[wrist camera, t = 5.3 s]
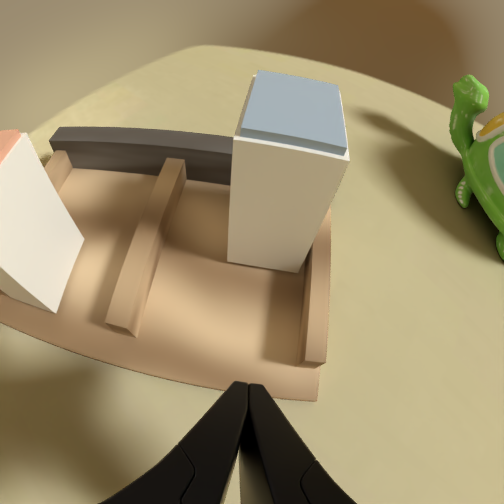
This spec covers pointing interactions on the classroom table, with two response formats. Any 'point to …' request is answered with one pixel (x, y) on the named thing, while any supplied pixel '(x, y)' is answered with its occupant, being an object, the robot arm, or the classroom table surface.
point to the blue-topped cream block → (284, 169)
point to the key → (33, 228)
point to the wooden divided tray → (175, 269)
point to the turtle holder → (479, 152)
